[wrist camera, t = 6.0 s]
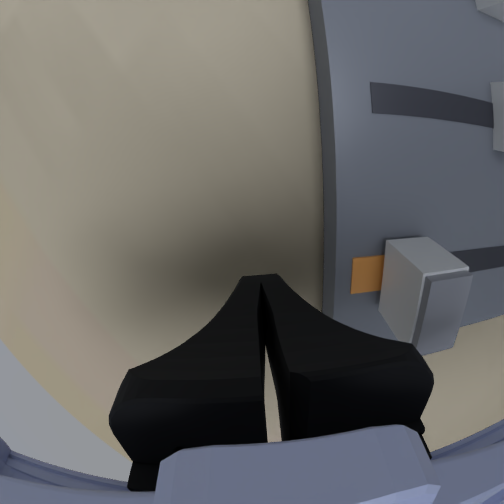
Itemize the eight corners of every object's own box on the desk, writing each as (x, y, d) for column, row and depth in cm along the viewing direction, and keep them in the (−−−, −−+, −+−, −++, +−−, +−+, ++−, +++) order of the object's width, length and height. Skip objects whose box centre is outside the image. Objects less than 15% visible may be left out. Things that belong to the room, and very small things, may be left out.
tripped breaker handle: (427, 236, 11) (476, 272, 8) (417, 303, 12) (454, 349, 9) (385, 240, 11) (429, 279, 8) (378, 309, 12) (410, 360, 9)
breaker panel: (520, -14, 7) (570, -26, 2) (523, 288, 16) (569, 327, 11) (291, -88, 7) (308, -152, 2) (321, 328, 16) (348, 406, 11)
